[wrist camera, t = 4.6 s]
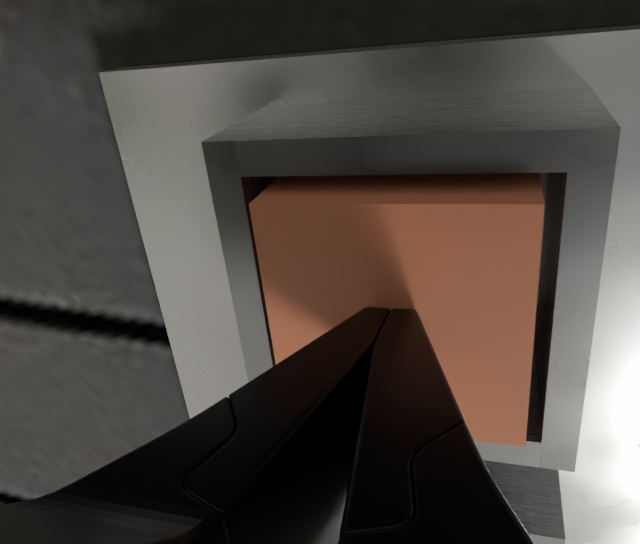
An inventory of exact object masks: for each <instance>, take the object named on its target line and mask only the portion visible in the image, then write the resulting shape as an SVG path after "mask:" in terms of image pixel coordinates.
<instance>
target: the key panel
mask: <svg viewBox="0 0 640 544" xmlns="http://www.w3.org/2000/svg"><path fill="white" fill-rule="evenodd" d="M99 76H100V80H101V84H102V87H103V91H104V95H105V99H106V102H107V106H108V110H109V114H110V118H111V121H112V125H113V129H114V133H115V137H116V140H117V144H118V148H119V152H120V155H121V159H122V163H123V167H124V171H125V174H126V178H127V182H128V186H129V190H130V193H131V197H132V201H133V205H134V208H135V212H136V216H137V220H138V224H139V227H140V231H141V235H142V239H143V242H144V246H145V250H146V254H147V258H148V261H149V265H150V269H151V273H152V277H153V280H154V284H155V288H156V292H157V295H158V299H159V303H160V307H161V311H162V314H163V318H164V322H165V326H166V330H167V333H168V337H169V341H170V345H171V348H172V352H173V356H174V360H175V364H176V367H177V371H178V375H179V379H180V383H181V386H182V390H183V394H184V398H185V401H186V405H187V409H188V413H189V417H190V419H191V418H193V417H194V416H196V415H197V414H199V413H201V412H202V411H204V410H206V409H207V408H209V407H210V406H212V405H214V404H215V403H217V402H218V401H220V400H221V399H223V398H224V397H228V398H229V395H230V394H231V393H232V392H234V391H236V390H237V389H239V388H240V387H242V386H243V385H245V384H246V383H248V382H250V381H251V380H253V379H254V378H256V377H257V376H259V375H260V374H262V373H264V372H265V371H267V370H268V369H270V368H271V367H273V366H275V365H276V363H275V357H274V351H273V345H272V339H271V333H270V327H269V321H268V315H267V309H266V303H265V297H264V291H263V285H262V279H261V273H260V267H259V261H258V256H257V250H256V244H255V238H254V232H253V226H252V220H251V214H250V208H249V203H250V202H252V201H253V200H254V199H255V198H256V197H257V196H258V195H259V194H260V193H261V192H263V191H264V190H265V189H266V188H267V187H268V186H269V185H270V184H271V183H272V182H274V181H275V180H276V179H277V178H278V177H279V176H336V175H407V174H479V173H539V174H540V180H541V186H542V191H543V197H544V203H545V207H544V220H543V232H542V245H541V257H540V270H539V282H538V295H537V308H536V320H535V333H534V345H533V358H532V371H531V383H530V396H529V408H528V421H527V434H526V446H525V447H521V446H513V445H504V444H496V443H488V442H480V441H474V442H475V444H476V446H477V448H478V451H479V453H480V455H481V457H482V459H483V461H484V463H485V465H486V467H487V469H488V470H489V472H490V474H491V475H492V477H493V479H494V480H495V482H496V484H497V485H498V487H499V489H500V490H501V492H502V494H503V495H504V497H505V499H506V500H507V502H508V503H509V505H510V506H511V508H512V509H513V511H514V512H515V514H516V515H517V517H518V519H519V520H520V522H521V523H522V525H523V526H524V528H525V529H526V531H527V532H528V534H529V535H530V537H531V539H532V540H533V542H534V543H535V544H640V25H628V26H616V27H604V28H592V29H580V30H567V31H555V32H543V33H531V34H519V35H507V36H495V37H483V38H471V39H458V40H446V41H434V42H422V43H410V44H398V45H386V46H374V47H362V48H349V49H337V50H325V51H313V52H301V53H289V54H277V55H265V56H253V57H240V58H228V59H216V60H204V61H192V62H180V63H168V64H156V65H144V66H131V67H119V68H115V69H111V70H107V71H103V72H99Z"/></svg>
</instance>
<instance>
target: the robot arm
mask: <svg viewBox="0 0 640 544" xmlns="http://www.w3.org/2000/svg"><path fill="white" fill-rule="evenodd" d="M0 544H535V543H534V542H533V540H532V539H531V537H530V535H529V534H528V532H527V531H526V529H525V528H524V526H523V525H522V523H521V522H520V520H519V519H518V517H517V515H516V514H515V512H514V511H513V509H512V508H511V506H510V505H509V503H508V502H507V500H506V499H505V497H504V495H503V494H502V492H501V490H500V489H499V487H498V485H497V484H496V482H495V480H494V479H493V477H492V475H491V474H490V472H489V470H488V469H487V467H486V465H485V463H484V461H483V459H482V457H481V455H480V453H479V451H478V448H477V446H476V444H475V442H474V440H473V438H472V435H471V433H470V431H469V429H468V426H467V425H466V423H465V420H464V418H463V415H462V413H461V411H460V409H459V406H458V404H457V402H456V399H455V397H454V395H453V392H452V390H451V388H450V385H449V383H448V381H447V379H446V376H445V374H444V372H443V369H442V367H441V365H440V362H439V360H438V358H437V356H436V353H435V351H434V349H433V346H432V344H431V342H430V339H429V337H428V335H427V333H426V330H425V328H424V326H423V323H422V321H421V319H420V316H419V314H418V312H417V311H416V310H415V309H402V308H394V309H392V310H391V311H390V309H388V308H384V307H365V308H363V309H362V310H360V311H359V312H357V313H355V314H354V315H352V316H351V317H349V318H348V319H346V320H345V321H343V322H341V323H340V324H338V325H337V326H335V327H334V328H332V329H331V330H329V331H327V332H326V333H324V334H323V335H321V336H320V337H318V338H317V339H315V340H313V341H312V342H310V343H309V344H307V345H306V346H304V347H303V348H301V349H299V350H298V351H296V352H295V353H293V354H292V355H290V356H289V357H287V358H285V359H284V360H282V361H281V362H279V363H278V364H276V365H275V366H273V367H271V368H270V369H268V370H267V371H265V372H264V373H262V374H260V375H259V376H257V377H256V378H254V379H253V380H251V381H250V382H248V383H246V384H245V385H243V386H242V387H240V388H239V389H237V390H236V391H234V392H232V393H231V394H230V395H229V398H228V397H224V398H223V399H221V400H220V401H218V402H217V403H215V404H214V405H212V406H210V407H209V408H207V409H206V410H204V411H202V412H201V413H199V414H197V415H196V416H194V417H193V418H191V419H189V420H188V421H186V422H184V423H183V424H181V425H179V426H178V427H176V428H174V429H172V430H170V431H169V432H167V433H165V434H163V435H161V436H160V437H158V438H156V439H154V440H152V441H151V442H149V443H147V444H145V445H143V446H141V447H139V448H137V449H136V450H134V451H132V452H130V453H128V454H126V455H124V456H122V457H120V458H119V459H117V460H115V461H113V462H111V463H109V464H107V465H105V466H104V467H102V468H100V469H98V470H96V471H94V472H92V473H90V474H88V475H87V476H85V477H83V478H81V479H79V480H77V481H75V482H73V483H72V484H70V485H68V486H66V487H64V488H61V489H59V490H57V491H55V492H53V493H50V494H47V495H45V496H42V497H39V498H35V499H31V500H28V501H24V502H18V503H11V504H0Z"/></svg>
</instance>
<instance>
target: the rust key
mask: <svg viewBox="0 0 640 544" xmlns="http://www.w3.org/2000/svg"><path fill="white" fill-rule="evenodd" d="M544 207H545V203H544V197H543V191H542V186H541V180H540V174H539V173H479V174H407V175H336V176H279V177H278V178H277V179H276V180H275V181H274V182H272V183H271V184H270V185H269V186H268V187H267V188H266V189H265V190H264V191H263V192H261V193H260V194H259V195H258V196H257V197H256V198H255V199H254V200H253V201H252V202H250V203H249V208H250V214H251V220H252V226H253V232H254V238H255V244H256V250H257V256H258V261H259V267H260V273H261V279H262V285H263V291H264V297H265V303H266V309H267V315H268V321H269V327H270V333H271V339H272V345H273V351H274V357H275V363H276V364H278V363H279V362H281V361H282V360H284V359H285V358H287V357H289V356H290V355H292V354H293V353H295V352H296V351H298V350H299V349H301V348H303V347H304V346H306V345H307V344H309V343H310V342H312V341H313V340H315V339H317V338H318V337H320V336H321V335H323V334H324V333H326V332H327V331H329V330H331V329H332V328H334V327H335V326H337V325H338V324H340V323H341V322H343V321H345V320H346V319H348V318H349V317H351V316H352V315H354V314H355V313H357V312H359V311H360V310H362V309H363V308H365V307H384V308H388V309H390V311H391V310H392V309H394V308H402V309H415V310H416V311H417V312H418V314H419V316H420V319H421V321H422V323H423V326H424V328H425V330H426V333H427V335H428V337H429V339H430V342H431V344H432V346H433V349H434V351H435V353H436V356H437V358H438V360H439V362H440V365H441V367H442V369H443V372H444V374H445V376H446V379H447V381H448V383H449V385H450V388H451V390H452V392H453V395H454V397H455V399H456V402H457V404H458V406H459V409H460V411H461V413H462V415H463V418H464V420H465V423H466V425H467V426H468V429H469V431H470V433H471V435H472V438H473V440H474V441H480V442H488V443H496V444H504V445H513V446H521V447H525V446H526V434H527V421H528V408H529V396H530V383H531V371H532V358H533V345H534V333H535V320H536V308H537V295H538V282H539V270H540V257H541V245H542V232H543V220H544Z"/></svg>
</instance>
